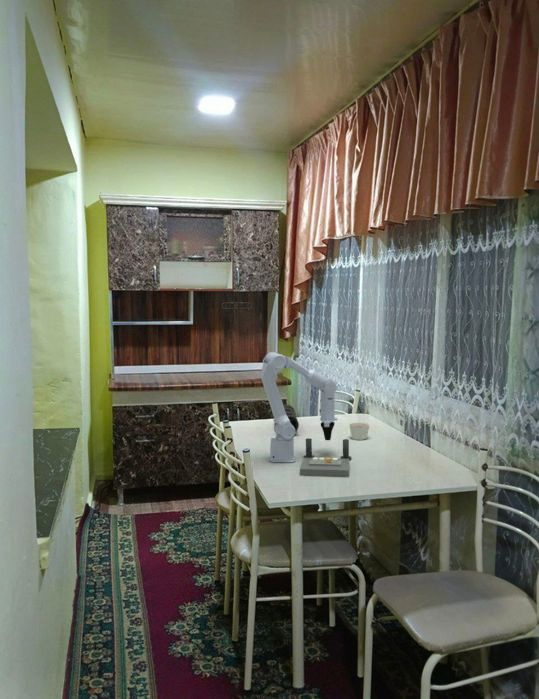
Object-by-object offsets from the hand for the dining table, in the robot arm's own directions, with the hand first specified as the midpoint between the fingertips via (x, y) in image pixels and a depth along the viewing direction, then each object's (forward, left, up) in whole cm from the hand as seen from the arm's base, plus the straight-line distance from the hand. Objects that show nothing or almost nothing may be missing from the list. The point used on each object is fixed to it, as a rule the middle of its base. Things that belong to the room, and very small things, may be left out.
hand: (327, 439), depth 240 cm
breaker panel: (0, -20, -6) cm, 21 cm away
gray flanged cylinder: (-7, -5, -6) cm, 11 cm away
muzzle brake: (-22, +42, -7) cm, 48 cm away
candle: (+13, +28, -7) cm, 31 cm away
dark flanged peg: (+8, -5, -6) cm, 11 cm away
